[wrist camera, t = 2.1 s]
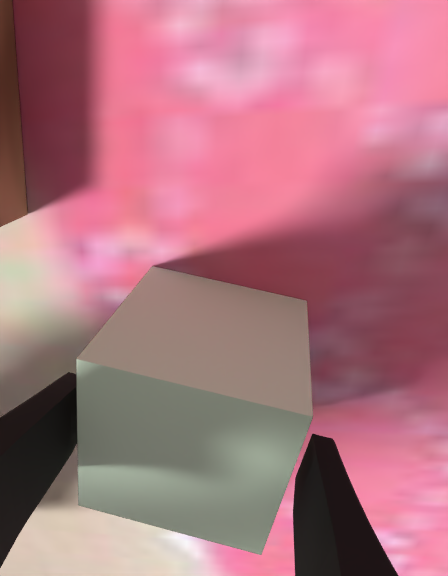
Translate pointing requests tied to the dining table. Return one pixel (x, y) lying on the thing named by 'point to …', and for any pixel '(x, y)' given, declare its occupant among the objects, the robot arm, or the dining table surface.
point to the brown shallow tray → (10, 124)
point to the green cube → (195, 407)
